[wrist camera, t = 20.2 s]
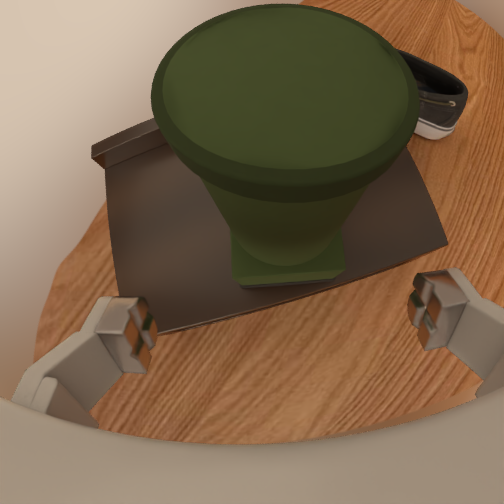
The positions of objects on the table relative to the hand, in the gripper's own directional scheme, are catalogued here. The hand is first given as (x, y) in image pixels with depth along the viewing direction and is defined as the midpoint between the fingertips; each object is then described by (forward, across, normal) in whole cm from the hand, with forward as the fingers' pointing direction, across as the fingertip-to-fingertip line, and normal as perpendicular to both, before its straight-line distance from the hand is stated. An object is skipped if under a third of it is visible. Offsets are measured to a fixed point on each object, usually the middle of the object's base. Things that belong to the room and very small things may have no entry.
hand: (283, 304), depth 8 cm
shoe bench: (+16, 0, +6) cm, 17 cm away
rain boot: (+11, -1, +1) cm, 11 cm away
